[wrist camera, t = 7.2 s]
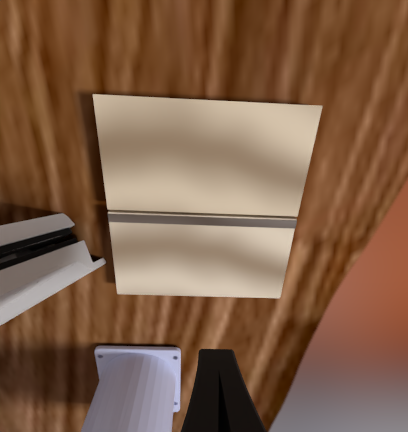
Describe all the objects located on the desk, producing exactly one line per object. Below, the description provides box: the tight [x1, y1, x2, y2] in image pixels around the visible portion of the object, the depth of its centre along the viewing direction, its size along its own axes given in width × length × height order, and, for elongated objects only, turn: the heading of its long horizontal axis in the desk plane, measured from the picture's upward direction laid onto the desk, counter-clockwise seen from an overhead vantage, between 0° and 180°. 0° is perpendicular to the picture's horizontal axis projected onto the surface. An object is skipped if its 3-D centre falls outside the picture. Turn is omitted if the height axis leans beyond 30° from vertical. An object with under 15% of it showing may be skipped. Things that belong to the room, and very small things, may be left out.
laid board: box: [108, 210, 297, 298], centre depth 19 cm, size 7×13×1 cm, turn 87°
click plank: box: [93, 94, 322, 216], centre depth 16 cm, size 7×13×1 cm, turn 87°
